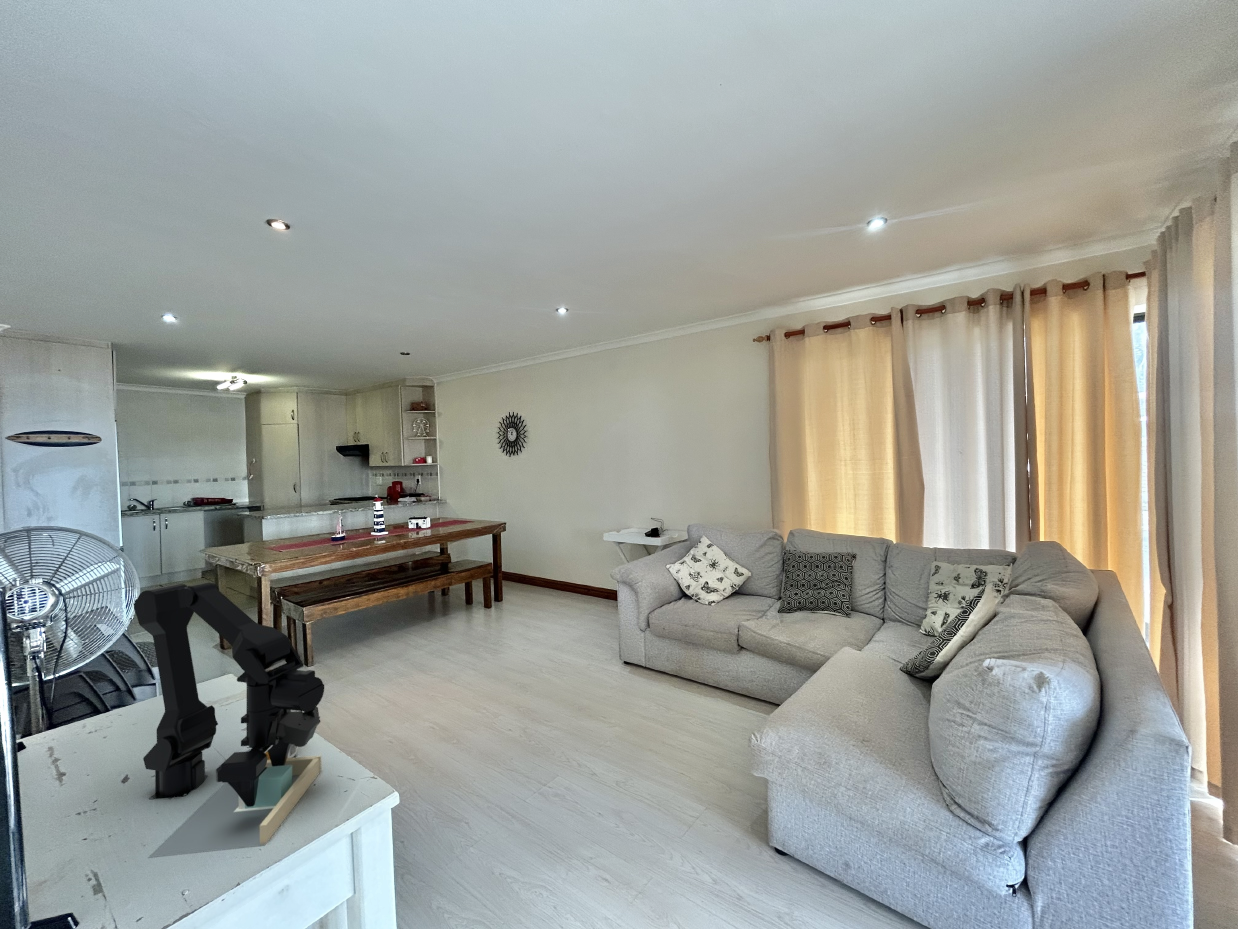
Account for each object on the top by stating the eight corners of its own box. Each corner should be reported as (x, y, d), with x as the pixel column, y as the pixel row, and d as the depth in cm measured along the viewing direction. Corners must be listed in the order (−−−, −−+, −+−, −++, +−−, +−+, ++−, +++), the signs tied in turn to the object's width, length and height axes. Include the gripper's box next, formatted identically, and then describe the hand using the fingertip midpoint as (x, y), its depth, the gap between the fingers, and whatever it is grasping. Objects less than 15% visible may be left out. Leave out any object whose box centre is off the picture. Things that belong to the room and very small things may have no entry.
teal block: (280, 805, 91) (280, 777, 91) (238, 809, 90) (238, 781, 90) (292, 791, 95) (292, 764, 95) (251, 795, 94) (251, 768, 94)
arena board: (147, 861, 79) (147, 838, 79) (229, 781, 99) (229, 763, 99) (264, 849, 81) (264, 827, 81) (321, 773, 101) (321, 755, 101)
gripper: (286, 727, 84) (286, 820, 84) (333, 680, 103) (333, 756, 103) (213, 732, 83) (213, 827, 83) (274, 684, 101) (275, 761, 101)
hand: (265, 789), depth 92 cm, fingers open, 9 cm apart
